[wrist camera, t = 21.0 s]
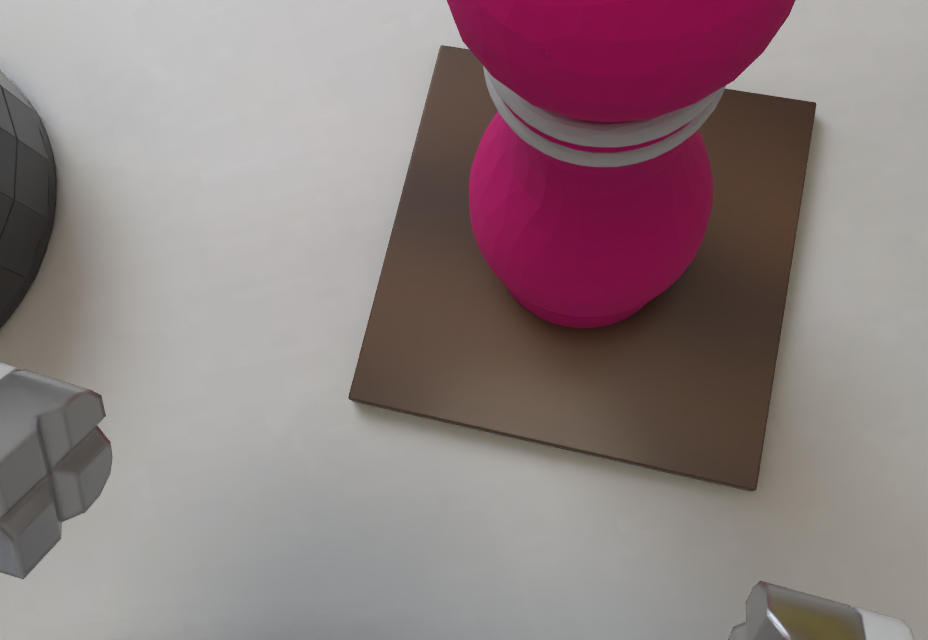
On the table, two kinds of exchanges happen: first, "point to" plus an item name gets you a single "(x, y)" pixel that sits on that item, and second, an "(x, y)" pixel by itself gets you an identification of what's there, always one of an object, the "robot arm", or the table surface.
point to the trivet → (603, 348)
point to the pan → (22, 195)
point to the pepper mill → (600, 142)
